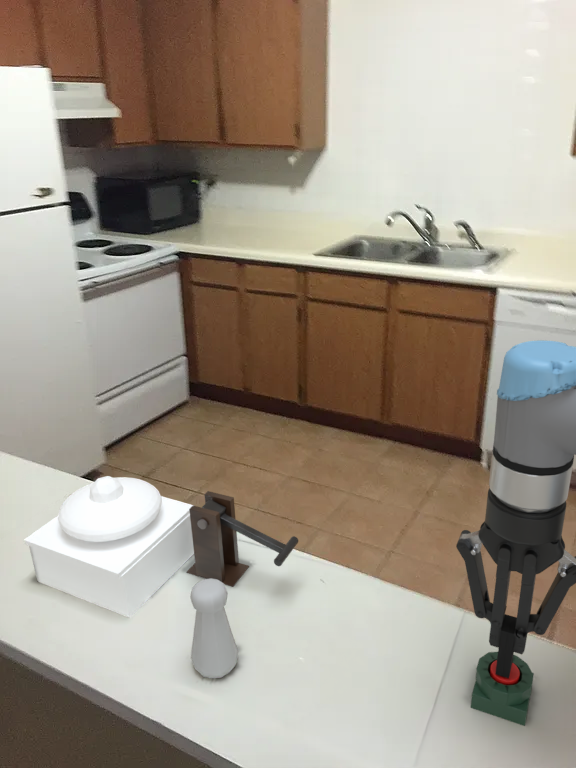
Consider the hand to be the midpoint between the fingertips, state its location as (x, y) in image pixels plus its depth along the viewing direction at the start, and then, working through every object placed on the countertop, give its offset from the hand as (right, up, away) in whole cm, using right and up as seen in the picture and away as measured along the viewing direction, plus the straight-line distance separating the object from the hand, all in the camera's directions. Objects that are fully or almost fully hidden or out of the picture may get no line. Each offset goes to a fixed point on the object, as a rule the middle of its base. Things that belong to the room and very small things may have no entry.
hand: (504, 667), depth 77 cm
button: (0, -2, +1) cm, 2 cm away
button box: (0, -4, +2) cm, 5 cm away
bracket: (-35, +4, +23) cm, 42 cm away
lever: (-31, +11, +18) cm, 37 cm away
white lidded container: (-50, +4, +25) cm, 56 cm away
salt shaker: (-34, -3, +7) cm, 35 cm away
